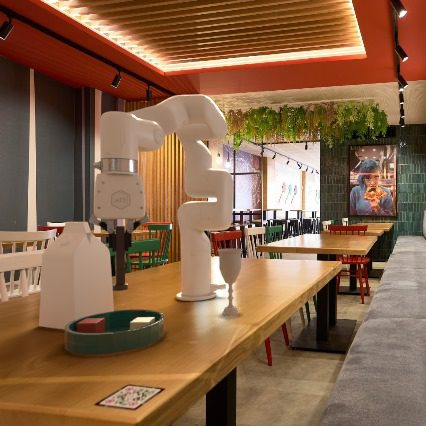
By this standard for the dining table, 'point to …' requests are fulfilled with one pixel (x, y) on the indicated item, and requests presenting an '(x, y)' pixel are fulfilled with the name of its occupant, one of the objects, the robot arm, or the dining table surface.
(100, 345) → the bowl
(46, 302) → the milk
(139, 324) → the cream block
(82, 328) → the red block
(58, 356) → the dining table surface
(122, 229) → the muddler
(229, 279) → the chalice
